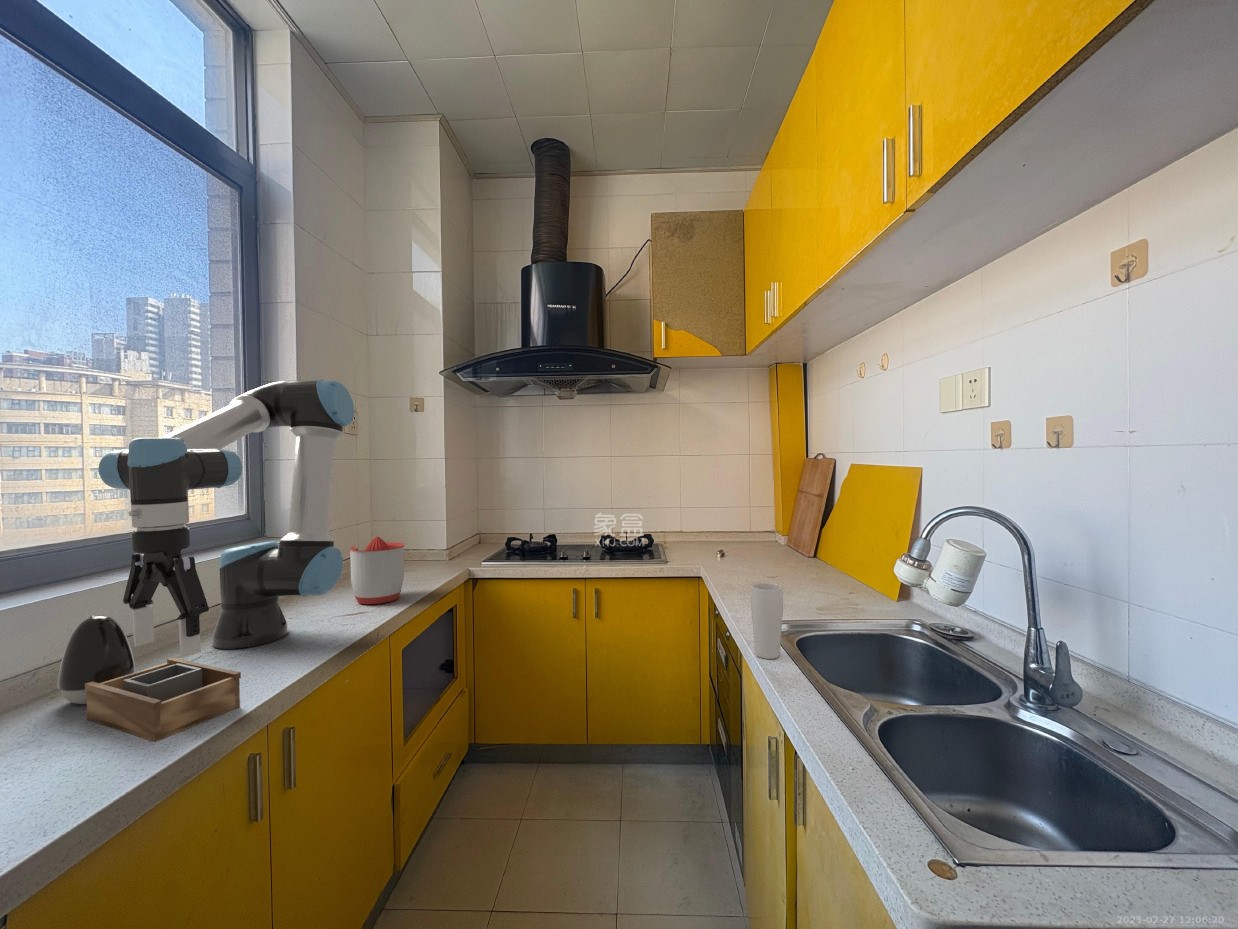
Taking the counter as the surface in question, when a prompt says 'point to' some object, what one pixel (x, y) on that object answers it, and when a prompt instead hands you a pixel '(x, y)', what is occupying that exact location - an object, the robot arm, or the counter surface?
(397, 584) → the citrus juicer
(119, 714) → the large crate
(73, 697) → the pump dispenser
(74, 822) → the counter surface
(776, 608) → the drinking glass
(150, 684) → the box
